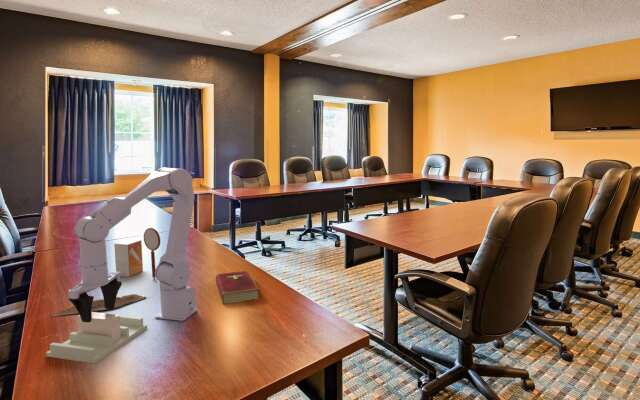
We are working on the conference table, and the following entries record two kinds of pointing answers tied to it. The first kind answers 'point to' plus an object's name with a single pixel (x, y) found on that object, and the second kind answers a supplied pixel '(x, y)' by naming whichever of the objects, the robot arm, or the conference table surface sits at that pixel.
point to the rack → (96, 342)
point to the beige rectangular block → (101, 325)
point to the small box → (128, 257)
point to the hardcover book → (236, 286)
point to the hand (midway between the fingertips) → (98, 315)
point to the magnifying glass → (152, 245)
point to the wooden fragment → (100, 305)
